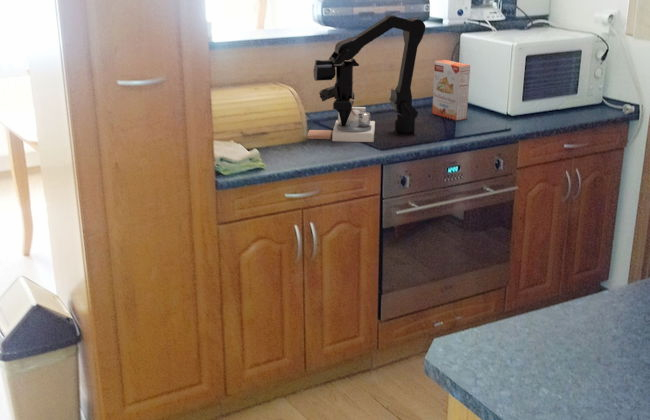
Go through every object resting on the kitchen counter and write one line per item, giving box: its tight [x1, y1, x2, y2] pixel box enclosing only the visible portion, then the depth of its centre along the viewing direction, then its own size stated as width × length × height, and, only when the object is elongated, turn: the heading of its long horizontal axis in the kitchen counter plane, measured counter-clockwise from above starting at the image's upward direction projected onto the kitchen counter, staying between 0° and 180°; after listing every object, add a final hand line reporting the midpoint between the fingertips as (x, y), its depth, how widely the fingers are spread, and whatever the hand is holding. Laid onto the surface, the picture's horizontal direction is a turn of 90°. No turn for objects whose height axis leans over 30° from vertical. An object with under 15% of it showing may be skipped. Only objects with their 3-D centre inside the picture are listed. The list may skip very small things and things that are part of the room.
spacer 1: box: [337, 112, 350, 127], centre depth 257 cm, size 4×4×4 cm
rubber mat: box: [306, 129, 333, 140], centre depth 259 cm, size 8×8×1 cm
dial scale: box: [331, 106, 376, 143], centre depth 259 cm, size 14×18×8 cm
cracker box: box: [431, 59, 471, 122], centre depth 282 cm, size 14×6×21 cm, turn 32°
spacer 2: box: [358, 112, 371, 128], centre depth 256 cm, size 4×4×4 cm
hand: (344, 124), depth 257 cm, fingers open, 5 cm apart
